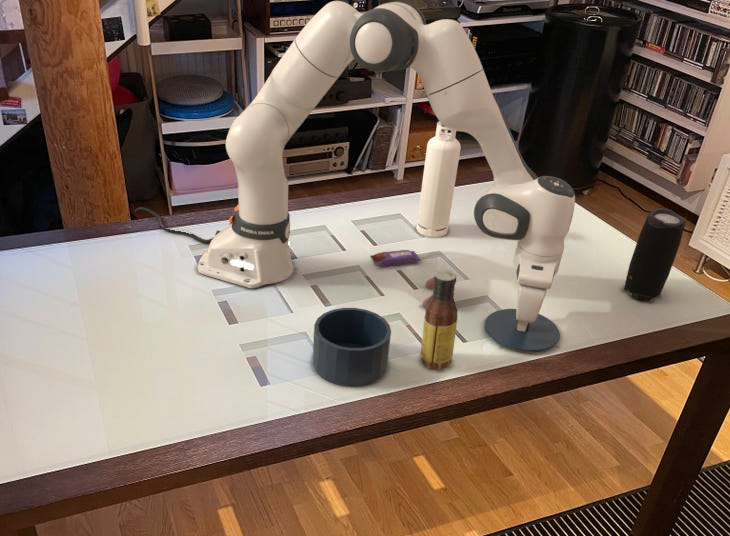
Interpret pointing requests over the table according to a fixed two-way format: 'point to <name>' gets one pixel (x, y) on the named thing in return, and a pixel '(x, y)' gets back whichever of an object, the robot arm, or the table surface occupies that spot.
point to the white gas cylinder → (438, 183)
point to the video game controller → (429, 285)
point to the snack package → (395, 258)
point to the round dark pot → (351, 346)
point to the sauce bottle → (440, 323)
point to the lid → (521, 332)
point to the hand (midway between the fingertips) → (522, 317)
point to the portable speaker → (654, 254)
